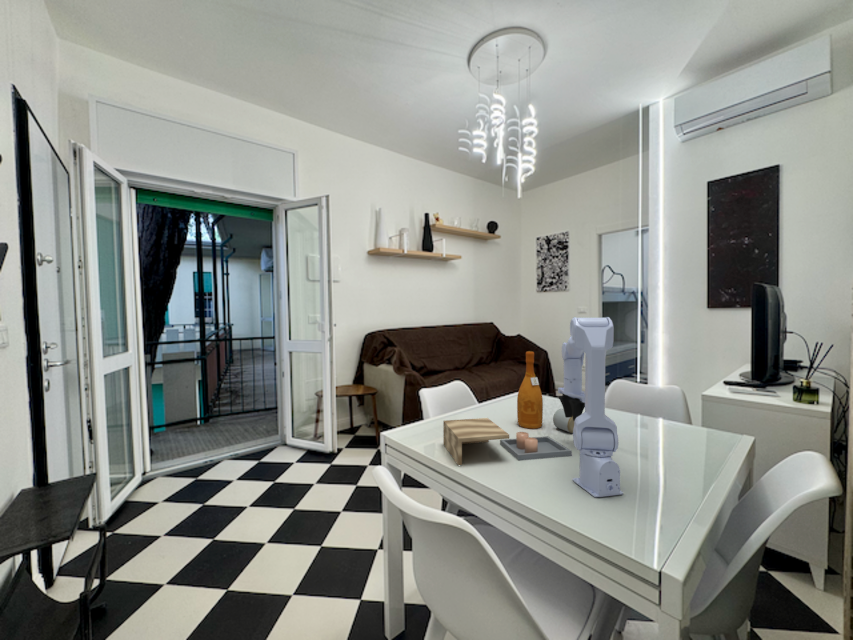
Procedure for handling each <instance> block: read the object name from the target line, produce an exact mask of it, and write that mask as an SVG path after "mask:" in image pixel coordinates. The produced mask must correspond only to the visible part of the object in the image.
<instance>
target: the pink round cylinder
mask: <svg viewBox="0 0 853 640" xmlns="http://www.w3.org/2000/svg"><path fill="white" fill-rule="evenodd" d="M531 437H532V436H531ZM531 437H528V438H525V453H534V452H538V440H537V439H536V438H531Z"/></svg>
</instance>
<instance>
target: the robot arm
mask: <svg viewBox="0 0 853 640" xmlns="http://www.w3.org/2000/svg"><path fill="white" fill-rule="evenodd" d="M569 323H570V325H569V334H570V337H569V338H568V339H567V342H562V345H561V357H562V358H561V359H562V360H563V387H557V393H558V394H561V395H558V399H559V401H560V404H561V406H562V409H564V413H565V417H566V418H568V417H573V421H574V428H573V433H572V438H573V439H572V440H573V441H572V442H573V445H574V447H575V448H576V450H578V451H579V477H573V478H572V480H571V481H573V482H574V483H575V484H576V485H578V486H579V487H581V488H582V489H583V490H585V491H586V492H587V493H589V494H590V495H591V496H593V497H594V498H602V497H609V496H610V497H611V496H618V495H619V496H620V495H624V492H623V491H622V490H621V468H620V466H619V464H618V463H617V462H616V461H615V460H614V459H613V457H612V456H614V453H616V451H618V449H619V443H620V442H619V434H618V426H617V425H616V423H615V421H614V420H613V419H612V418H611V417H609V416H608V415H606V413H605V412H606V409H605V408H606V407H605V406H606V358H607V351H609V350H610V349H612V348H613V346H614V333H615V328H614V323H613V320H612V319H611V318H610V317H609V316H605V317H576V316H574V317H572V318H571V320H570V322H569ZM584 359H585V363H584ZM584 364H585V366H584ZM583 366H584V368H585V371H584V377H585V378H584V390H583Z"/></svg>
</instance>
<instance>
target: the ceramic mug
mask: <svg viewBox="0 0 853 640" xmlns="http://www.w3.org/2000/svg"><path fill="white" fill-rule="evenodd" d="M552 423H553V425H554V427H555V428H557V429H558V430H559V429H560V430H562V431H565V432H567V433H571V434H573V428H574V421H573V417H568V418H566V417H565V413H564V409H563V408H558V409H557V410H556V411H555V412H554V414H553V417H552Z"/></svg>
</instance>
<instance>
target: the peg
mask: <svg viewBox="0 0 853 640" xmlns="http://www.w3.org/2000/svg"><path fill="white" fill-rule="evenodd" d="M529 436H530V435H529V432H525V431H519V432H518V431H517V432H516V433H515V439H516V444H517V448H518V449H525V438H528V437H529Z"/></svg>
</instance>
